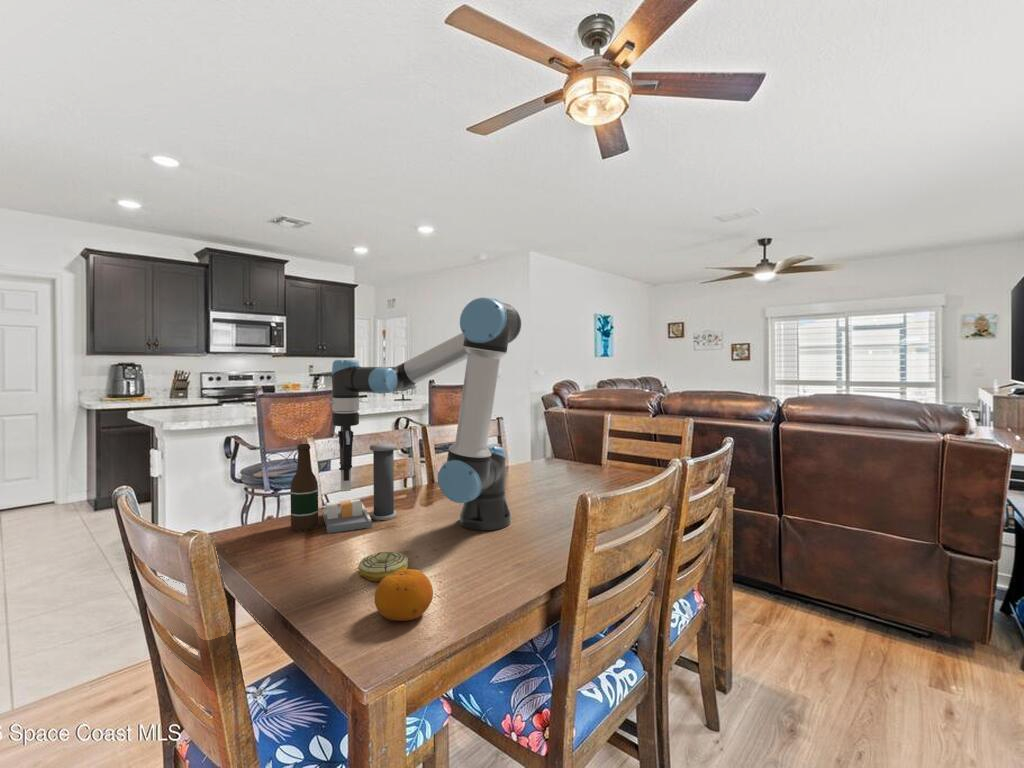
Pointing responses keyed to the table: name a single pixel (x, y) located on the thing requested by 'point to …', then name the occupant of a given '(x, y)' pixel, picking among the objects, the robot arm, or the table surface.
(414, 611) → the fruit
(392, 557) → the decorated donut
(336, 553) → the table surface
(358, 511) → the paddle right
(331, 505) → the paddle left
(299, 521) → the beer bottle
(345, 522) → the panel
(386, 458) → the tall grey cylinder
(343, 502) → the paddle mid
